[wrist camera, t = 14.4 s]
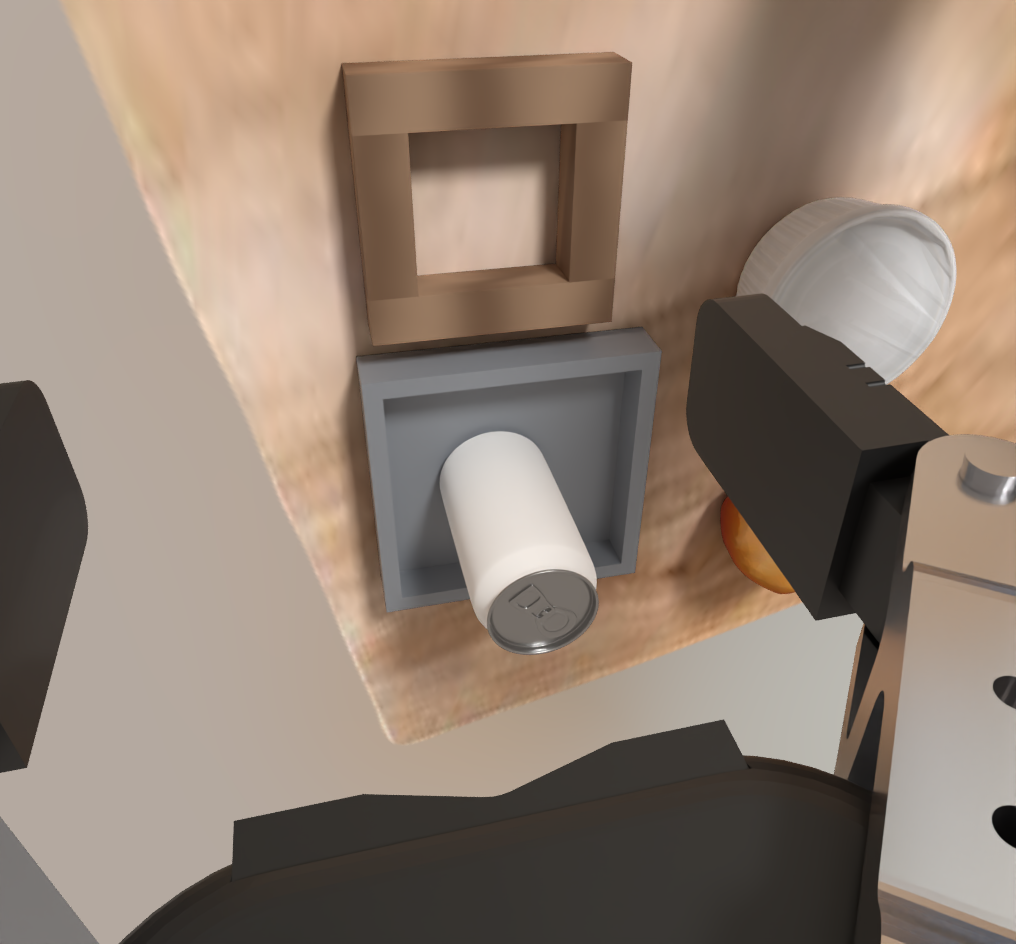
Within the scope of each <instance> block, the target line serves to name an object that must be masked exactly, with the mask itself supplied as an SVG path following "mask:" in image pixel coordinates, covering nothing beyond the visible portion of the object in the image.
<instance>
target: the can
mask: <svg viewBox="0 0 1016 944" xmlns="http://www.w3.org/2000/svg"><path fill="white" fill-rule="evenodd" d="M440 490H441V495H442V499H443V503H444V507H445V510H446V514H447V518H448V521H449V525H450V529H451V532H452V536H453V540H454V543H455V547H456V550H457V554H458V558H459V561H460V565H461V568H462V572H463V576H464V579H465V583H466V586H467V590H468V593H469V596H470V600H471V603H472V606H473V609H474V612H475V614H476V616H477V618H478V620H479V621H480V622H481V624H482V625H483V626H484V627H485V628H486V629H487V630H488V632H489V634H490V636H491V638H492V639H493V641H494V642H495V643H496V644H497V645H498V646H500V647H501V648H503V649H505V650H507V651H509V652H513V653H517V654H523V655H536V654H543V653H548V652H551V651H554V650H557V649H560V648H562V647H564V646H566V645H568V644H570V643H571V642H573V641H574V640H576V639H577V638H578V637H580V636H581V635H582V634H583V633H584V632H585V631H586V630H587V629H588V628H589V626H590V625H591V623H592V622H593V620H594V618H595V616H596V614H597V610H598V604H599V600H598V594H597V591H596V584H597V577H596V572H595V568H594V565H593V563H592V560H591V558H590V555H589V553H588V551H587V549H586V546H585V544H584V542H583V540H582V538H581V536H580V533H579V531H578V529H577V527H576V525H575V522H574V520H573V518H572V516H571V514H570V512H569V509H568V507H567V505H566V503H565V501H564V499H563V497H562V494H561V492H560V490H559V488H558V486H557V484H556V482H555V479H554V477H553V475H552V473H551V471H550V469H549V467H548V465H547V463H546V461H545V458H544V457H543V455H542V453H541V451H540V450H539V448H538V447H537V446H536V445H535V444H534V443H533V442H532V441H531V440H529V439H528V438H526V437H524V436H522V435H519V434H516V433H512V432H505V431H496V432H488V433H484V434H480V435H478V436H475V437H473V438H471V439H469V440H467V441H465V442H464V443H462V444H461V445H460V446H458V447H457V448H456V449H455V450H454V451H453V452H452V453H451V454H450V456H449V457H448V458H447V460H446V461H445V463H444V465H443V468H442V471H441V474H440Z"/></svg>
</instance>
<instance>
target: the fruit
mask: <svg viewBox="0 0 1016 944" xmlns="http://www.w3.org/2000/svg"><path fill="white" fill-rule="evenodd" d="M720 523H721V532H722V538H723V541H724V544H725V546H726V548H727V550H728V552H729V554H730V556H731V558H732V560H733V562H734V564H735V565H736V566H737V567H738V569H739V570H740V571H741V572H742V573H743V574H744V575H745V576H747V577H748V578H749V579H751V580H752V581H754V582H755V583H757V584H758V585H760V586H762V587H764V588H766V589H768V590H770V591H773V592H775V593H778V594H789V593H794V592H795V591H794V589H793V588H792V586H791V585H790V584H789V582H788V581H787V579H786V578H785V576H784V575H783V574H782V572H781V571H780V569H779V568H778V567H777V565H776V564H775V562H774V561H773V559H772V558H771V557H770V555H769V554H768V552H767V551H766V550H765V548H764V547H763V545H762V544H761V542H760V541H759V540H758V538H757V537H756V535H755V534H754V533H753V531H752V530H751V528H750V527H749V525H748V524H747V523H746V521H745V520H744V518H743V517H742V516H741V514H740V513H739V511H738V510H737V508H736V507H735V506H734V504H733V503H732V501H731V500H730V499H729V497H727V498H726V499H725V500H724V502H723V504H722V507H721V516H720Z"/></svg>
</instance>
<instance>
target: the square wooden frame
mask: <svg viewBox="0 0 1016 944" xmlns="http://www.w3.org/2000/svg"><path fill="white" fill-rule="evenodd" d="M342 72H343V82H344V92H345V102H346V111H347V121H348V131H349V141H350V151H351V161H352V170H353V180H354V190H355V200H356V210H357V219H358V229H359V239H360V249H361V259H362V269H363V278H364V288H365V298H366V308H367V318H368V326H369V330H370V335H371V339H372V344H373V346H379V345H389V344H399V343H408V342H418V341H428V340H438V339H447V338H457V337H467V336H477V335H486V334H496V333H506V332H516V331H525V330H535V329H545V328H554V327H564V326H574V325H584V324H593V323H603V322H611V320H612V308H613V296H614V283H615V271H616V258H617V246H618V233H619V221H620V209H621V196H622V184H623V171H624V159H625V146H626V134H627V122H628V109H629V97H630V84H631V72H632V62H630V61H628V60H627V59H625V58H623V57H621V56H620V55H618V54H616V53H614V52H604V53H581V54H557V55H533V56H509V57H485V58H461V59H437V60H413V61H389V62H365V63H342ZM556 124H561V137H560V164H559V191H558V218H557V245H556V264H545V265H534V266H523V267H511V268H500V269H489V270H477V271H466V272H455V273H444V274H432V275H421V276H417V267H416V251H415V235H414V219H413V203H412V187H411V172H410V156H409V140H408V133H417V132H434V131H451V130H469V129H486V128H504V127H521V126H539V125H556Z"/></svg>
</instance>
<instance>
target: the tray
mask: <svg viewBox="0 0 1016 944" xmlns="http://www.w3.org/2000/svg"><path fill="white" fill-rule="evenodd" d="M661 353H662V351H661V350H660V349H659V347H658V346H657V345H656V343H655V342H654V341H653V340H652V338H651V337H650V336H649V335H648V333H647V332H646V331H645V330H644V328H643V327H635V328H625V329H616V330H606V331H597V332H587V333H577V334H568V335H558V336H549V337H539V338H530V339H520V340H510V341H501V342H491V343H482V344H472V345H463V346H453V347H444V348H434V349H424V350H415V351H405V352H396V353H386V354H377V355H367V356H357V357H356V360H357V369H358V377H359V386H360V395H361V404H362V413H363V421H364V430H365V439H366V448H367V457H368V465H369V474H370V483H371V492H372V501H373V509H374V518H375V527H376V536H377V545H378V553H379V562H380V571H381V580H382V586H383V592H384V598H385V604H386V610H387V612H393V611H399V610H405V609H411V608H418V607H424V606H430V605H436V604H443V603H449V602H455V601H461V600H468V599H470V596H469V593H468V590H467V586H466V583H465V579H464V576H463V572H462V568H461V565H460V561H459V558H458V554H457V550H456V547H455V543H454V540H453V536H452V532H451V529H450V525H449V521H448V518H447V514H446V510H445V507H444V503H443V499H442V495H441V490H440V474H441V471H442V468H443V465H444V463H445V461H446V460H447V458H448V457H449V456H450V454H451V453H452V452H453V451H454V450H455V449H456V448H457V447H458V446H460V445H461V444H462V443H464V442H465V441H467V440H469V439H471V438H473V437H475V436H478V435H480V434H484V433H488V432H496V431H505V432H512V433H516V434H519V435H522V436H524V437H526V438H528V439H529V440H531V441H532V442H533V443H534V444H535V445H536V446H537V447H538V448H539V450H540V451H541V453H542V455H543V457H544V458H545V461H546V463H547V465H548V467H549V469H550V471H551V473H552V475H553V477H554V479H555V482H556V484H557V486H558V488H559V490H560V492H561V494H562V497H563V499H564V501H565V503H566V505H567V507H568V509H569V512H570V514H571V516H572V518H573V520H574V522H575V525H576V527H577V529H578V531H579V533H580V536H581V538H582V540H583V542H584V544H585V546H586V549H587V551H588V553H589V555H590V558H591V560H592V563H593V565H594V568H595V572H596V577H597V579H599V578H605V577H611V576H617V575H624V574H630V573H635V568H636V560H637V552H638V543H639V535H640V527H641V518H642V510H643V502H644V494H645V485H646V477H647V469H648V460H649V452H650V444H651V436H652V427H653V419H654V411H655V403H656V394H657V386H658V378H659V369H660V361H661Z"/></svg>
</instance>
